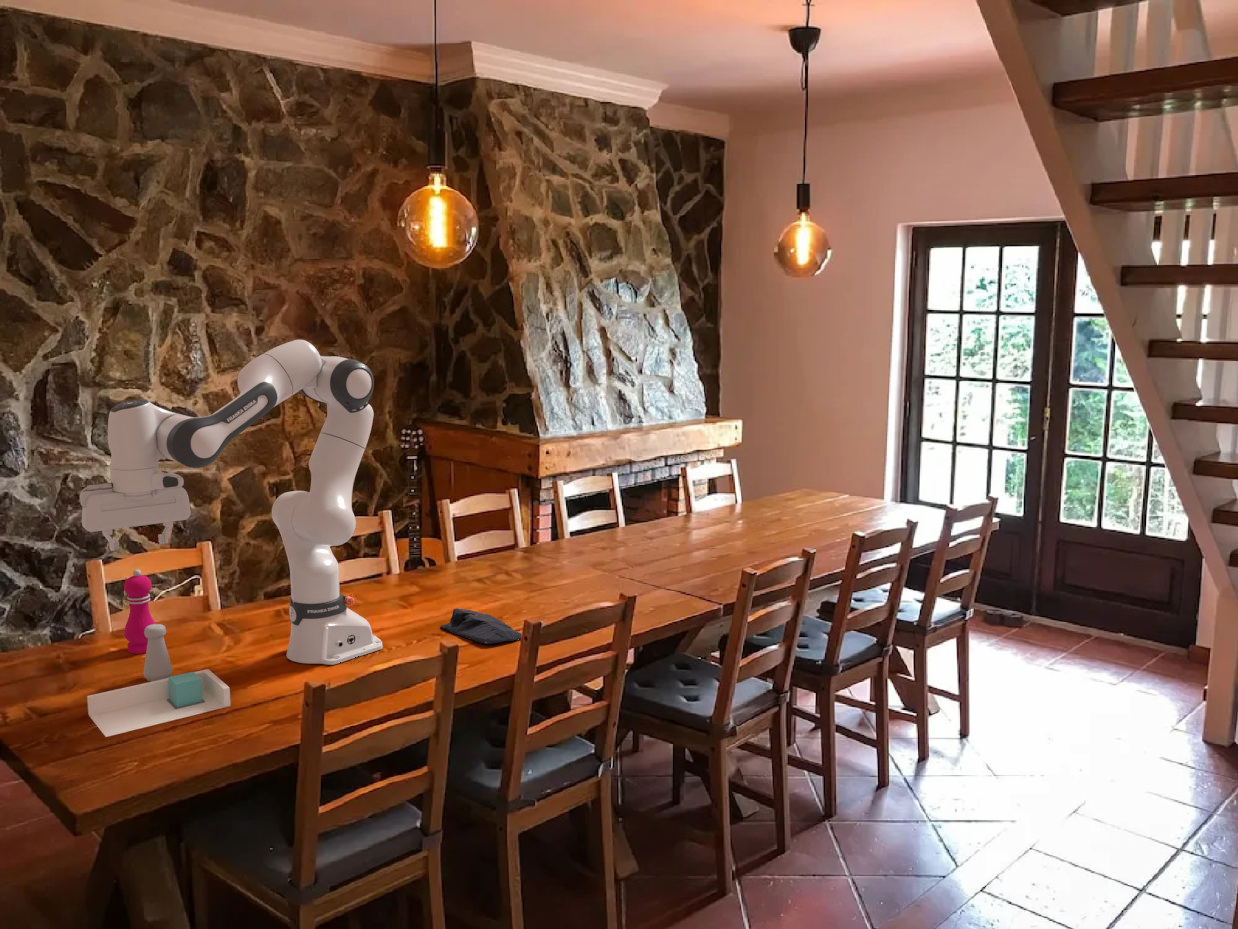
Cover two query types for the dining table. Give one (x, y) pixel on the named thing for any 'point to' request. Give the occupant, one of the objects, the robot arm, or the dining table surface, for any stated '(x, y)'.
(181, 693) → the cube
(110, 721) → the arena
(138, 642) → the pepper mill
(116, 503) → the robot arm
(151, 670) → the salt shaker
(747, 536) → the dining table surface
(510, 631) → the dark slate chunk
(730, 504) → the dining table surface
